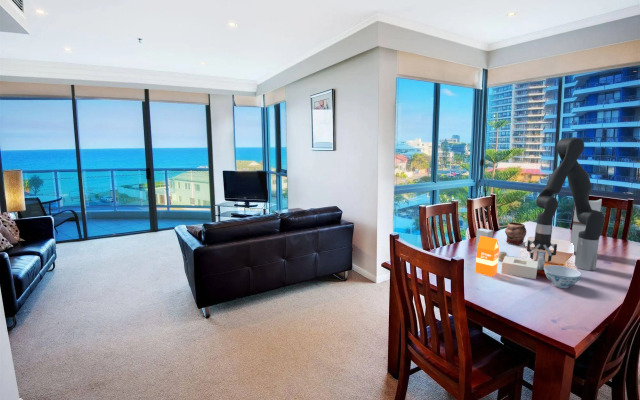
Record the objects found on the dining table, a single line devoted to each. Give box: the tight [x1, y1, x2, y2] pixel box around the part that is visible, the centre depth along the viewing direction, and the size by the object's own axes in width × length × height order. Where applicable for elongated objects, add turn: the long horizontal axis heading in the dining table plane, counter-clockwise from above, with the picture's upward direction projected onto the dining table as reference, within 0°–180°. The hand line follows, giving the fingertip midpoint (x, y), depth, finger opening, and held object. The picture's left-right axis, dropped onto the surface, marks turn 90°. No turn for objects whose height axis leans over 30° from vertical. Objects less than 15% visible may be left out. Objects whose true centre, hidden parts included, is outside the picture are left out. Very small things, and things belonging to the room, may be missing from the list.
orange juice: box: [474, 236, 500, 278], centre depth 186 cm, size 8×9×20 cm
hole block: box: [500, 256, 538, 280], centre depth 187 cm, size 16×12×6 cm
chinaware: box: [543, 264, 582, 289], centre depth 170 cm, size 15×15×8 cm
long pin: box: [535, 250, 547, 271], centre depth 191 cm, size 4×4×10 cm
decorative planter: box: [504, 222, 527, 246], centre depth 238 cm, size 20×12×14 cm, turn 132°
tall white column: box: [570, 198, 603, 256], centre depth 212 cm, size 11×11×35 cm
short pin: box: [498, 251, 508, 263], centre depth 205 cm, size 4×4×5 cm
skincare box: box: [475, 227, 494, 252], centre depth 219 cm, size 8×6×15 cm
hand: (540, 260), depth 191 cm, fingers open, 7 cm apart
